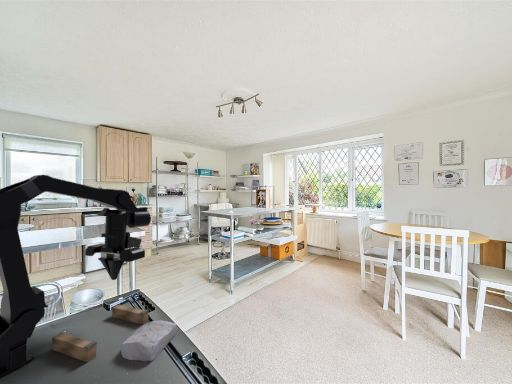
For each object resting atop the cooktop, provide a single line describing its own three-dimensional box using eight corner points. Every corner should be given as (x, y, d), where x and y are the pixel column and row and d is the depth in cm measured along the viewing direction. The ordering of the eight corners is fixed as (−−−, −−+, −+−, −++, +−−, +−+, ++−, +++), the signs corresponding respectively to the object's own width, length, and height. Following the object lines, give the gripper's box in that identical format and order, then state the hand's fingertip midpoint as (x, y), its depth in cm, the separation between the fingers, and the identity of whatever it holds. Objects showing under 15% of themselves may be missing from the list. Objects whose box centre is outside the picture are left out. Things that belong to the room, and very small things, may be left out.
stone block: (116, 366, 52) (155, 363, 51) (114, 345, 53) (152, 341, 52) (148, 337, 64) (180, 334, 63) (145, 320, 65) (177, 316, 63)
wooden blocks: (51, 349, 55) (52, 335, 55) (117, 313, 72) (118, 302, 72) (87, 362, 51) (87, 347, 51) (148, 321, 68) (148, 310, 68)
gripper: (158, 228, 75) (157, 275, 74) (117, 224, 80) (115, 268, 80) (130, 233, 64) (128, 287, 64) (84, 228, 70) (82, 278, 70)
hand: (114, 279), depth 70 cm, fingers closed
